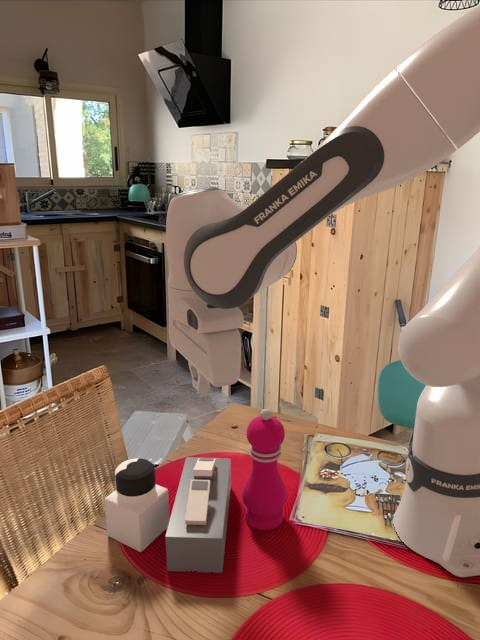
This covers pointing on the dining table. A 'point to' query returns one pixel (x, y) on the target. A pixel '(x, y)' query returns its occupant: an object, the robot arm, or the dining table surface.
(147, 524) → the medicine bottle
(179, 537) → the breaker panel
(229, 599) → the dining table surface
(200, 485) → the paddle on
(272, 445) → the pepper mill
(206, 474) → the paddle
